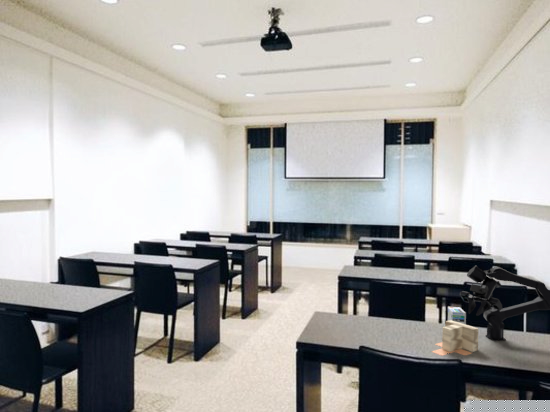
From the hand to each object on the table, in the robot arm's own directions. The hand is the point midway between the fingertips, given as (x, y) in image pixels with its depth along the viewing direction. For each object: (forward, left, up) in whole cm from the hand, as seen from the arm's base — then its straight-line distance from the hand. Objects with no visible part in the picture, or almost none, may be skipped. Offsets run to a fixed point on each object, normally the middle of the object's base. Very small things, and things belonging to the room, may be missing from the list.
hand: (472, 314), depth 185 cm
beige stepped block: (+12, +6, -14) cm, 19 cm away
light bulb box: (-3, -18, -14) cm, 23 cm away
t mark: (+18, +8, -14) cm, 24 cm away
